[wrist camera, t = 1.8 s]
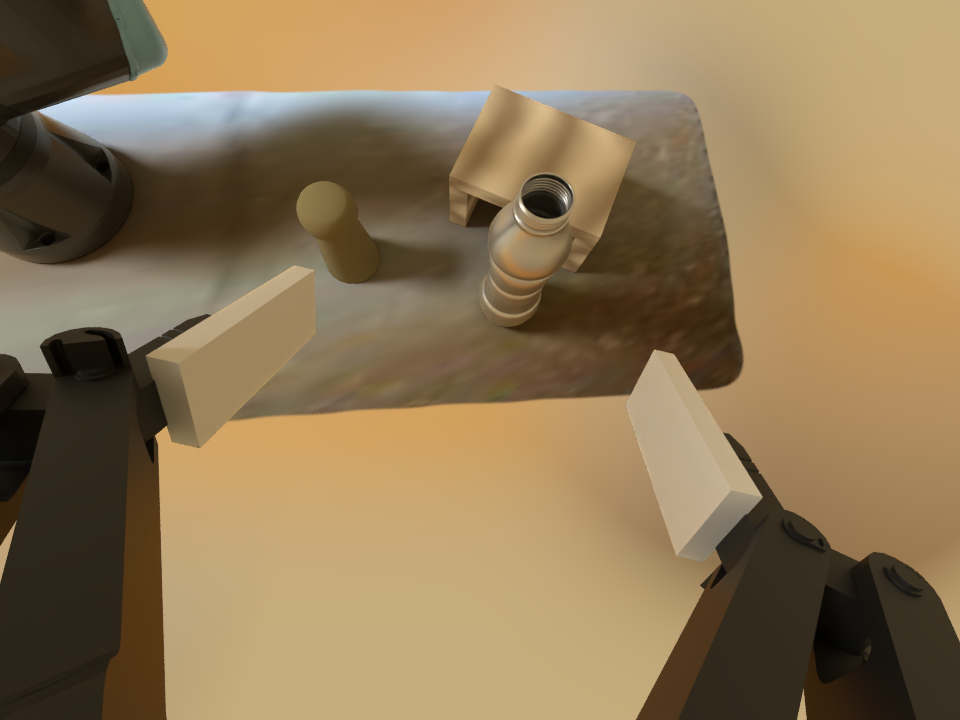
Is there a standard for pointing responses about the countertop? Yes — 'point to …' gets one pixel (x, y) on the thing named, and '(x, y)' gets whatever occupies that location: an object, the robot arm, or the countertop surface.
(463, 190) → the birch shelf
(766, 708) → the robot arm
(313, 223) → the cork
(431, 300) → the countertop surface
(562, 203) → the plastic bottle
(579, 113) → the countertop surface
